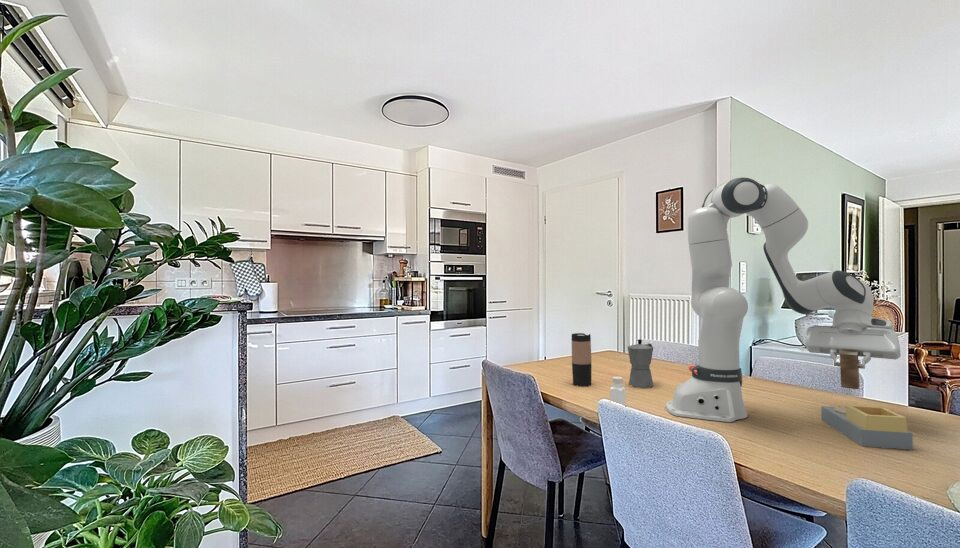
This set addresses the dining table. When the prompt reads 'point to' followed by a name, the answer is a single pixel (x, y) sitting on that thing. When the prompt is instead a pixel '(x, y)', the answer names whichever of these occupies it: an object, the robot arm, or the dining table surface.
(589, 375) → the travel mug
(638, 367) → the coffeepot
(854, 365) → the brown rectangular block
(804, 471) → the dining table surface
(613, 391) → the salt shaker
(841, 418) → the grey and tan block
